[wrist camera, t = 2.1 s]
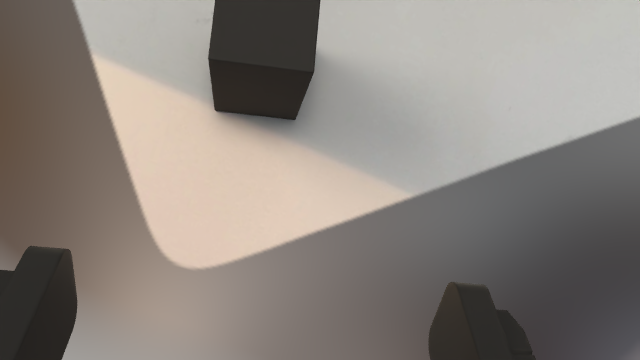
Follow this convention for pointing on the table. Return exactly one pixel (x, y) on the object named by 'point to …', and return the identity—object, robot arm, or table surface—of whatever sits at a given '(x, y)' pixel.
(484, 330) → the robot arm
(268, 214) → the table surface
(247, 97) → the black block
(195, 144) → the table surface
